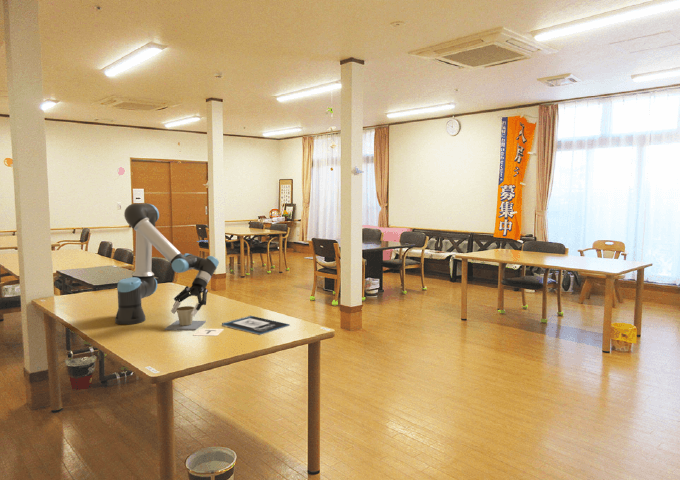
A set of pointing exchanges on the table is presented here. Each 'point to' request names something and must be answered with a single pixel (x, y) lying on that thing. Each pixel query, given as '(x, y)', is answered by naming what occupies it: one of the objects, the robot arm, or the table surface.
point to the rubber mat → (177, 326)
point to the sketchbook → (255, 325)
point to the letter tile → (208, 332)
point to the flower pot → (185, 315)
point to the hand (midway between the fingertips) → (182, 313)
